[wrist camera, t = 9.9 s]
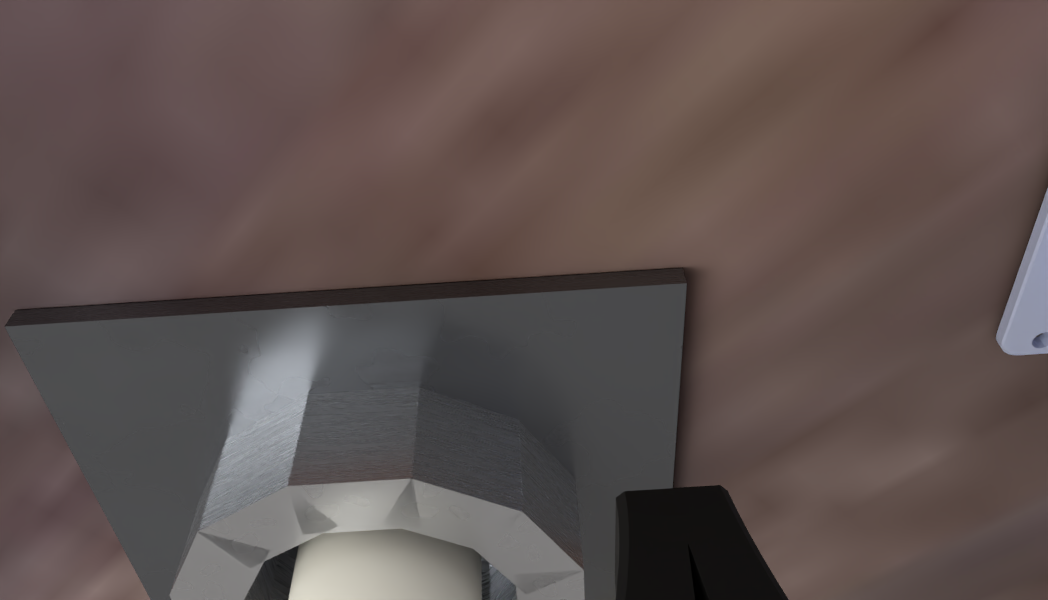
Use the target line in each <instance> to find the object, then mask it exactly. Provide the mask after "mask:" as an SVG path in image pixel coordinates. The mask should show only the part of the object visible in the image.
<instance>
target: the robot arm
mask: <svg viewBox="0 0 1048 600" xmlns="http://www.w3.org/2000/svg"><path fill="white" fill-rule="evenodd" d="M1041 333H1043V334H1042V335H1040V336H1038V337H1036V336H1037V335H1039V334H1041ZM996 340H997V342H998V344H999V345H1000V347H1001V348H1002V350H1003V351H1004V352H1005V353H1007V354H1009V355H1030V354H1046V353H1048V188H1047V191H1046V194H1045V197H1044V200H1043V203H1042V205H1041V208H1040V211H1039V214H1038V217H1037V220H1036V222H1035V225H1034V228H1033V231H1032V234H1031V237H1030V240H1029V242H1028V245H1027V248H1026V251H1025V254H1024V257H1023V260H1022V262H1021V265H1020V268H1019V271H1018V274H1017V277H1016V280H1015V282H1014V285H1013V288H1012V291H1011V294H1010V297H1009V300H1008V302H1007V305H1006V308H1005V311H1004V314H1003V317H1002V320H1001V322H1000V325H999V328H998V331H997V334H996ZM615 589H616V600H788V598H787V596H786V595H785V593H784V592H783V590H782V588H781V587H780V585H779V584H778V582H777V580H776V579H775V577H774V575H773V574H772V572H771V570H770V569H769V567H768V565H767V564H766V562H765V560H764V559H763V557H762V555H761V554H760V552H759V550H758V548H757V546H756V545H755V543H754V541H753V539H752V538H751V536H750V534H749V532H748V530H747V528H746V527H745V525H744V523H743V521H742V519H741V517H740V515H739V513H738V511H737V509H736V507H735V505H734V503H733V501H732V499H731V497H730V495H729V493H728V491H727V490H726V489H724V488H723V487H722V486H720V485H716V486H700V487H684V488H668V489H652V490H635V491H624V492H623V493H621V494H620V495H619V496H617V497H616V518H615Z"/></svg>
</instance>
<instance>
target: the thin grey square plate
mask: <svg viewBox="0 0 1048 600" xmlns="http://www.w3.org/2000/svg"><path fill="white" fill-rule="evenodd" d="M686 289H687V282H686V278H685V275H684V272H683V268H676V269H660V270H644V271H629V272H613V273H597V274H582V275H566V276H550V277H535V278H519V279H503V280H487V281H472V282H456V283H440V284H425V285H409V286H393V287H378V288H362V289H346V290H330V291H315V292H299V293H283V294H268V295H252V296H236V297H221V298H205V299H189V300H173V301H158V302H142V303H126V304H111V305H95V306H79V307H64V308H48V309H32V310H16V311H14V313H13V314H12V316H11V317H10V319H9V320H8V322H7V324H6V325H5V329H6V330H7V332H8V334H9V336H10V338H11V340H12V342H13V343H14V345H15V347H16V349H17V351H18V353H19V355H20V356H21V358H22V360H23V362H24V364H25V366H26V368H27V370H28V371H29V373H30V375H31V377H32V379H33V381H34V383H35V384H36V386H37V388H38V390H39V392H40V394H41V396H42V398H43V399H44V401H45V403H46V405H47V407H48V409H49V411H50V412H51V414H52V416H53V418H54V420H55V422H56V424H57V426H58V427H59V429H60V431H61V433H62V435H63V437H64V439H65V440H66V442H67V444H68V446H69V448H70V450H71V452H72V454H73V455H74V457H75V459H76V461H77V463H78V465H79V467H80V468H81V470H82V472H83V474H84V476H85V478H86V480H87V482H88V483H89V485H90V487H91V489H92V491H93V493H94V495H95V496H96V498H97V500H98V502H99V504H100V506H101V508H102V510H103V511H104V513H105V515H106V517H107V519H108V521H109V523H110V524H111V526H112V528H113V530H114V532H115V534H116V536H117V537H118V539H119V541H120V543H121V545H122V547H123V549H124V551H125V552H126V554H127V556H128V558H129V560H130V562H131V564H132V565H133V567H134V569H135V571H136V573H137V575H138V577H139V579H140V580H141V582H142V584H143V586H144V588H145V590H146V592H147V593H148V595H149V597H150V599H151V600H288V598H289V593H290V588H291V583H292V578H293V572H294V567H295V562H296V557H297V552H298V547H299V545H300V544H302V543H304V542H306V541H308V540H310V539H312V538H314V537H316V536H319V535H321V534H323V533H337V532H353V531H370V530H386V529H405V530H409V531H412V532H416V533H419V534H423V535H426V536H430V537H433V538H437V539H441V540H444V541H448V542H451V543H455V544H458V545H462V546H465V547H469V548H473V549H474V550H475V551H476V552H478V553H479V554H480V555H481V556H482V600H616V589H615V518H616V497H617V496H619V495H620V494H621V493H623V492H624V491H635V490H652V489H668V488H673V476H674V462H675V447H676V433H677V418H678V404H679V390H680V375H681V361H682V346H683V332H684V317H685V303H686Z"/></svg>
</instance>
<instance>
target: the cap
mask: <svg viewBox="0 0 1048 600" xmlns="http://www.w3.org/2000/svg"><path fill="white" fill-rule="evenodd" d="M288 600H482V556H481V555H480V554H479V553H478V552H476V551H475V550H474V549H473V548H469V547H465V546H462V545H458V544H455V543H451V542H448V541H444V540H441V539H437V538H433V537H430V536H426V535H423V534H419V533H416V532H412V531H409V530H405V529H386V530H370V531H353V532H337V533H323V534H321V535H319V536H316V537H314V538H312V539H310V540H308V541H306V542H304V543H302V544H300V545H299V547H298V552H297V557H296V562H295V567H294V572H293V578H292V583H291V588H290V593H289V598H288Z"/></svg>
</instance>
